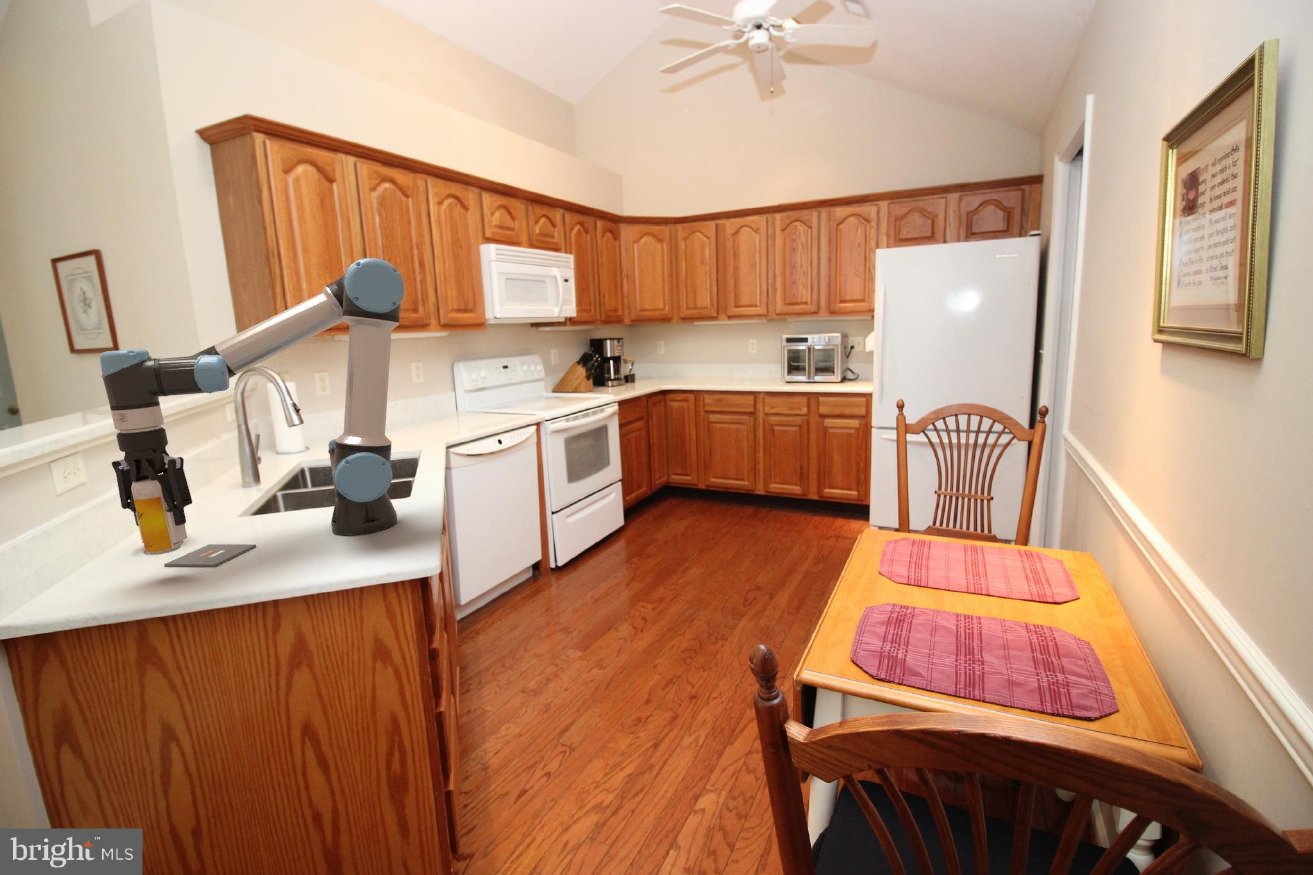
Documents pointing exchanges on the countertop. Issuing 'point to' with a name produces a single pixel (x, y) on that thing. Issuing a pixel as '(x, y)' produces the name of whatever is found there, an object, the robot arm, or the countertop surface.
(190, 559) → the tile
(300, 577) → the countertop surface
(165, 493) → the robot arm
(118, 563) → the countertop surface
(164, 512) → the beer can
